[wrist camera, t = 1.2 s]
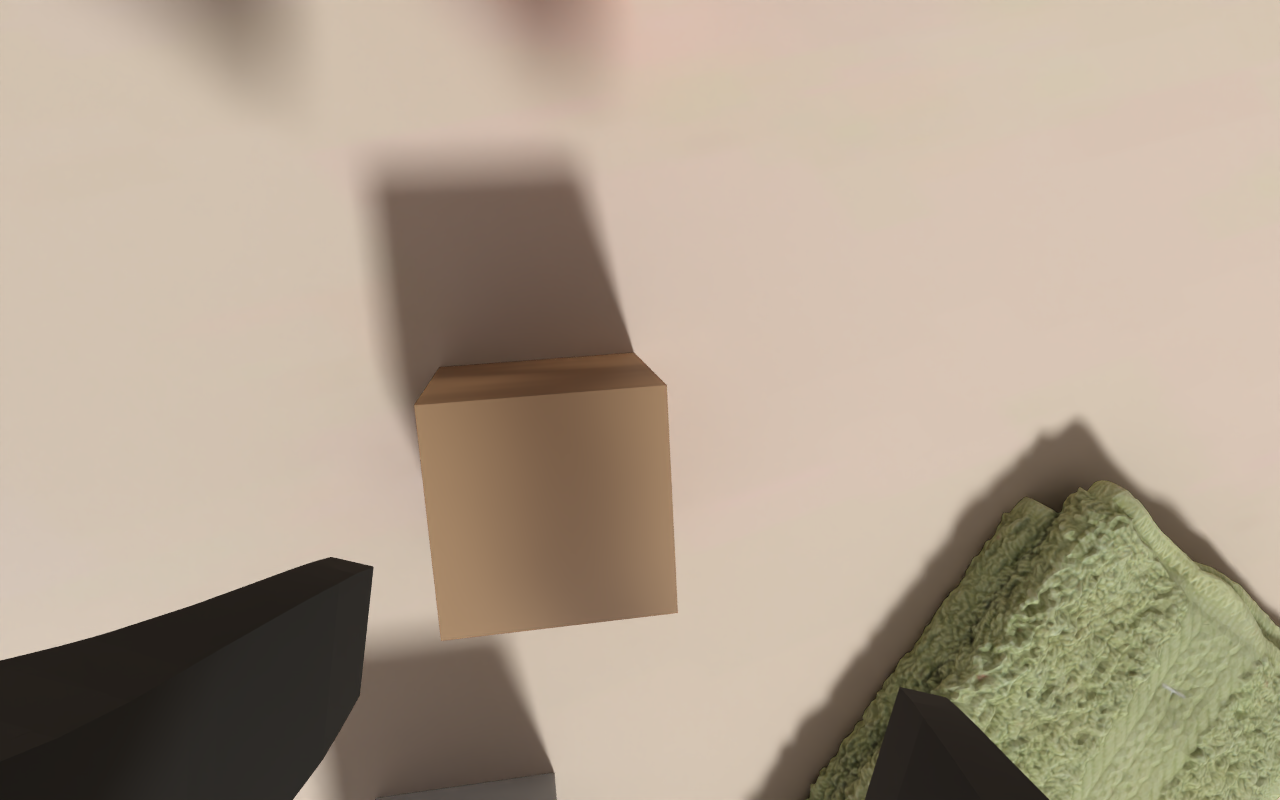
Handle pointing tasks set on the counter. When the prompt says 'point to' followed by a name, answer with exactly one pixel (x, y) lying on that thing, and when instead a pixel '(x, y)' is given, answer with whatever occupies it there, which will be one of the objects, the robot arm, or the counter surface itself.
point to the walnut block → (547, 493)
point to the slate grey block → (491, 790)
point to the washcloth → (1095, 663)
